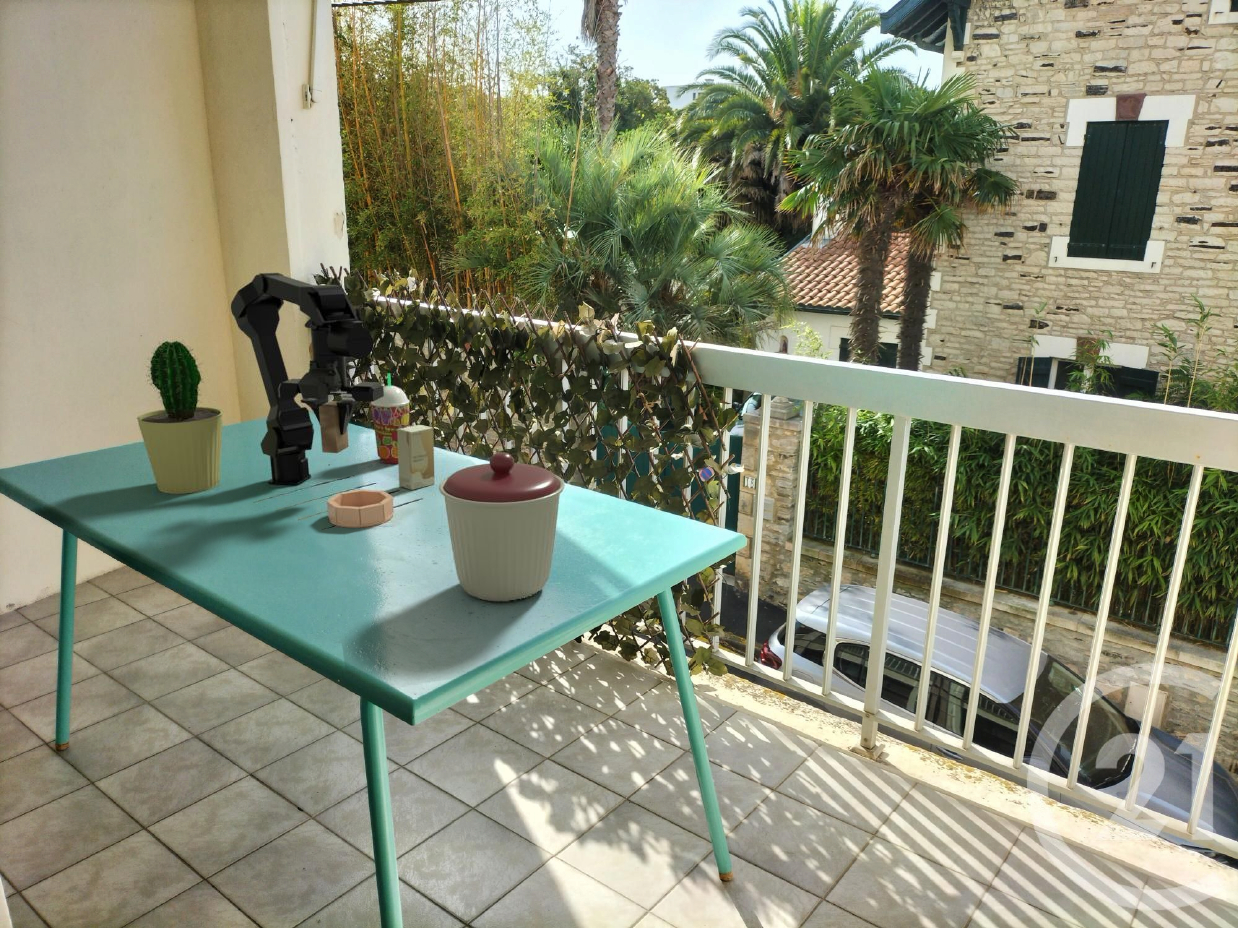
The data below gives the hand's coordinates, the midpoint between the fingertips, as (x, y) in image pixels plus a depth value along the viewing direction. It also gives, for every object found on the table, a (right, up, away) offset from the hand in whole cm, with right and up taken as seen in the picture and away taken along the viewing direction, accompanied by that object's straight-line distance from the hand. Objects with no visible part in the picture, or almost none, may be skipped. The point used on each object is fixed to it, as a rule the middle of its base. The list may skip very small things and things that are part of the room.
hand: (334, 434), depth 166 cm
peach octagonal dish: (+7, -16, -7) cm, 19 cm away
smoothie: (+3, -5, +30) cm, 31 cm away
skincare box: (+13, -10, +13) cm, 21 cm away
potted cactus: (-33, -10, +10) cm, 36 cm away
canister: (+38, -25, -36) cm, 58 cm away
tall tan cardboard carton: (0, -3, +1) cm, 3 cm away
